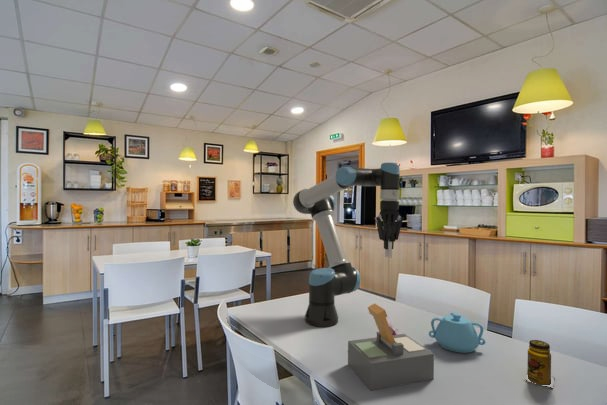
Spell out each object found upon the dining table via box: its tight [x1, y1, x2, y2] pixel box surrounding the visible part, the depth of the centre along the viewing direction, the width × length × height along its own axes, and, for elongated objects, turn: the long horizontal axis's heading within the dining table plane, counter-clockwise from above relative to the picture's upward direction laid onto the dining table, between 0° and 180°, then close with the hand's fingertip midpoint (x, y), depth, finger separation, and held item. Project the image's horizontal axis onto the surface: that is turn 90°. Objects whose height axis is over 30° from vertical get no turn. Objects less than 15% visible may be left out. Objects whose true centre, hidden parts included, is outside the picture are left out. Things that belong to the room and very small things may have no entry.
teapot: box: [428, 312, 486, 354], centre depth 130 cm, size 20×20×13 cm
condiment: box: [524, 339, 552, 389], centre depth 105 cm, size 7×8×12 cm
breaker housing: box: [347, 331, 435, 391], centre depth 110 cm, size 22×16×11 cm
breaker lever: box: [367, 303, 395, 349], centre depth 109 cm, size 3×7×14 cm, turn 17°
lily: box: [386, 316, 400, 335], centre depth 131 cm, size 12×12×10 cm
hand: (388, 256), depth 139 cm, fingers closed
